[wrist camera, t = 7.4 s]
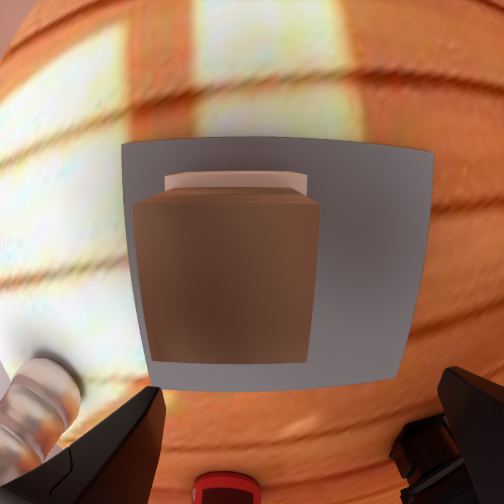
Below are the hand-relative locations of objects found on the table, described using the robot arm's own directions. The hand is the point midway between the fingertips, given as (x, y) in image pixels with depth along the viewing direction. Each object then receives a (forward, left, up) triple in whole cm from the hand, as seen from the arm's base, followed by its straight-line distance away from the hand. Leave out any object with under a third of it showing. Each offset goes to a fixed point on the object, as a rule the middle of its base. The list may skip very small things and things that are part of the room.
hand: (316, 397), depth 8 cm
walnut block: (+3, -3, -6) cm, 7 cm away
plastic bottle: (+19, +11, -12) cm, 25 cm away
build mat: (-1, +1, -12) cm, 12 cm away
